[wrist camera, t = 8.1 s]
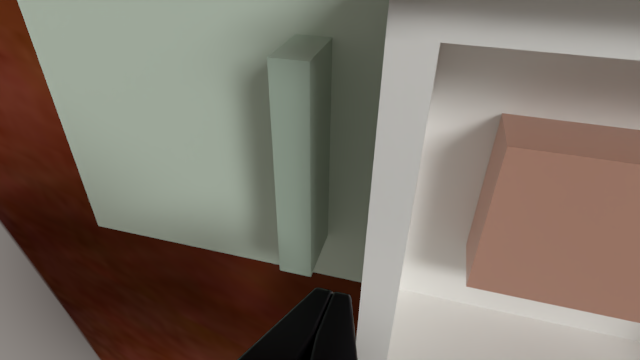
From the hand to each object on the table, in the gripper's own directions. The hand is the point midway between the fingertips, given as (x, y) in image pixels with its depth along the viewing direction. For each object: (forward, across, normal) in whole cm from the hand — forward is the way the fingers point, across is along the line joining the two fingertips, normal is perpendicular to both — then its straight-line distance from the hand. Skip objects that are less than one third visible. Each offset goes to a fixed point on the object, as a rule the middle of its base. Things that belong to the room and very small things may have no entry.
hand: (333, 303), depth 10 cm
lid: (+7, +7, 0) cm, 10 cm away
